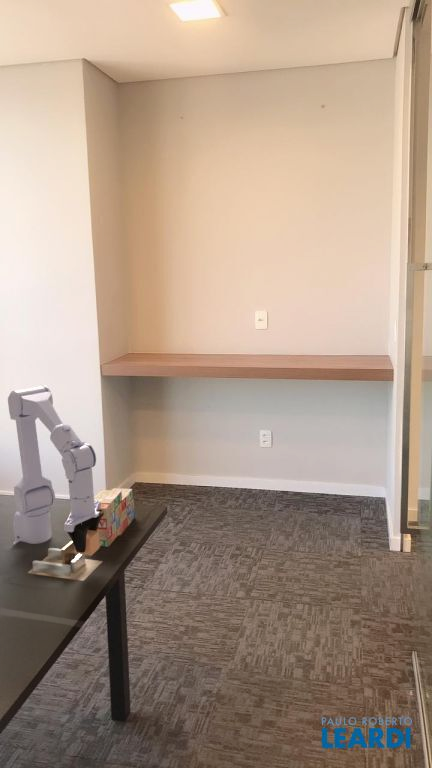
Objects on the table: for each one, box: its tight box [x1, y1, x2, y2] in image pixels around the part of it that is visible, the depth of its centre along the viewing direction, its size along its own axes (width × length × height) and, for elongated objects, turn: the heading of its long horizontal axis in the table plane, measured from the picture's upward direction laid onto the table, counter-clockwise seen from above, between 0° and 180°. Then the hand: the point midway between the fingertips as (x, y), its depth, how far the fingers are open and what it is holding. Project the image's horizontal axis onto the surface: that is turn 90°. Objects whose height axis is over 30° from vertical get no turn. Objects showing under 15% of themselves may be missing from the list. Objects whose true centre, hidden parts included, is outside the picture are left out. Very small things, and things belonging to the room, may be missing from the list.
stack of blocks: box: [94, 487, 136, 548], centre depth 178 cm, size 21×6×12 cm, turn 168°
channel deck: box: [27, 547, 103, 582], centre depth 158 cm, size 16×10×4 cm, turn 73°
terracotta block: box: [74, 530, 101, 557], centre depth 155 cm, size 4×4×4 cm
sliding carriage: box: [60, 540, 86, 572], centre depth 157 cm, size 4×5×6 cm
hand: (85, 546), depth 155 cm, fingers closed on terracotta block, 4 cm apart
